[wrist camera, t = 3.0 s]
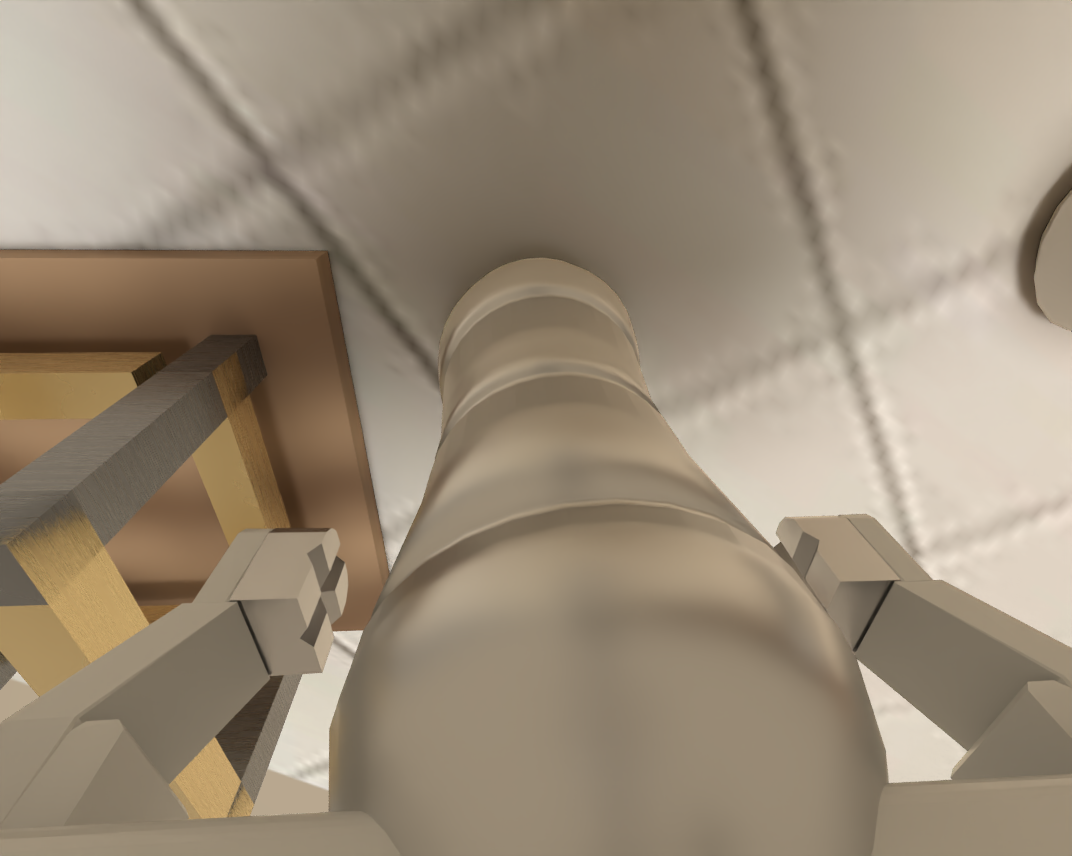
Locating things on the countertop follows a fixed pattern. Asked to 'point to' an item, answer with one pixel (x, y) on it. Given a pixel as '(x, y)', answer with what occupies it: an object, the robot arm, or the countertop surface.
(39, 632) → the frame
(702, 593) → the plastic bottle
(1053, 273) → the can
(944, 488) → the countertop surface
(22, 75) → the countertop surface
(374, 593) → the walnut board
